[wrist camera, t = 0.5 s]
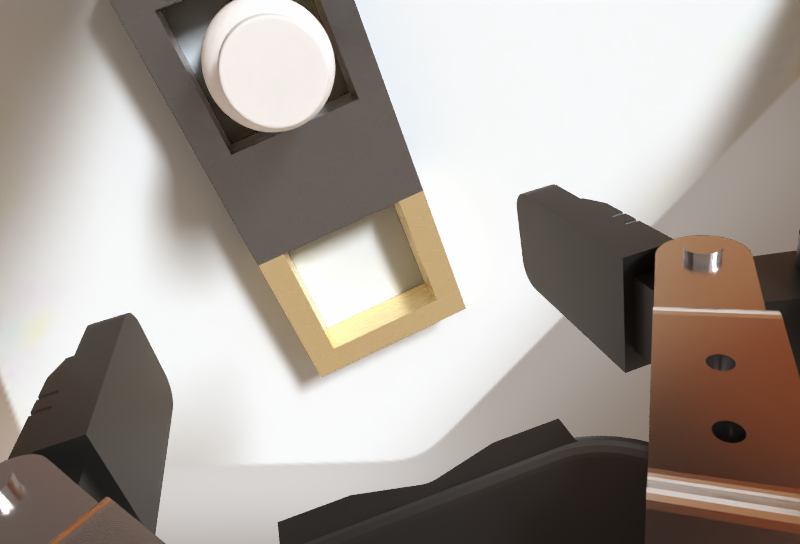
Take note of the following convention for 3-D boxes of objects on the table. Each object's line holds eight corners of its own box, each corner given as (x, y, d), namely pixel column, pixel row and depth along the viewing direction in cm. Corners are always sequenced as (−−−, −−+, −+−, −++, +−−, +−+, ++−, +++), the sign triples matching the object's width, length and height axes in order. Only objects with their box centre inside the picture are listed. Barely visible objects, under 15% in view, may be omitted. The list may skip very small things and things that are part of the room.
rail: (306, -104, 27) (313, -114, 25) (451, 291, 38) (465, 308, 36) (106, -23, 26) (95, -25, 24) (315, 355, 38) (321, 377, 35)
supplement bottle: (296, 121, 31) (322, 166, 23) (193, 86, 29) (180, 121, 21) (328, 21, 29) (368, 29, 21) (222, -24, 27) (220, -36, 19)
